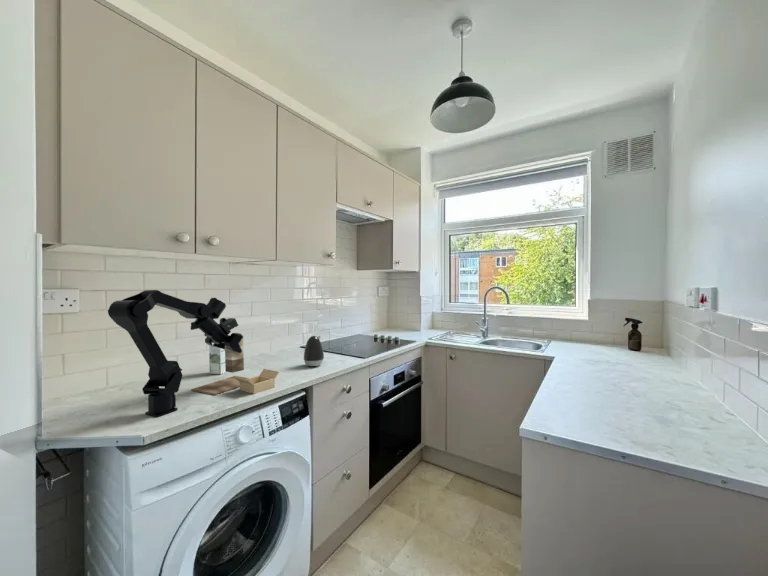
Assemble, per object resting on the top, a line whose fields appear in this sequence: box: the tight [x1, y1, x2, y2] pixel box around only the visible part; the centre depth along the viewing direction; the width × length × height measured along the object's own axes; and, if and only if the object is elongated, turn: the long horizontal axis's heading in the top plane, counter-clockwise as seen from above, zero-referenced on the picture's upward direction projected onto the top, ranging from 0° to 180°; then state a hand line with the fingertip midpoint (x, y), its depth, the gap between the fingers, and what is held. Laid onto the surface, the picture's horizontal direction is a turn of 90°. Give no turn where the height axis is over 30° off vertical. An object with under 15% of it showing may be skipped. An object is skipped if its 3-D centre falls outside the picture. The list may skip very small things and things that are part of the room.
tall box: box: [225, 337, 245, 374], centre depth 130 cm, size 5×5×14 cm
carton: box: [234, 368, 280, 395], centre depth 125 cm, size 14×9×6 cm, turn 147°
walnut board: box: [190, 375, 249, 396], centre depth 129 cm, size 20×14×1 cm
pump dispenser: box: [303, 335, 325, 367], centre depth 161 cm, size 10×10×15 cm
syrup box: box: [208, 343, 227, 375], centre depth 149 cm, size 6×6×14 cm
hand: (237, 351), depth 131 cm, fingers closed on tall box, 5 cm apart
